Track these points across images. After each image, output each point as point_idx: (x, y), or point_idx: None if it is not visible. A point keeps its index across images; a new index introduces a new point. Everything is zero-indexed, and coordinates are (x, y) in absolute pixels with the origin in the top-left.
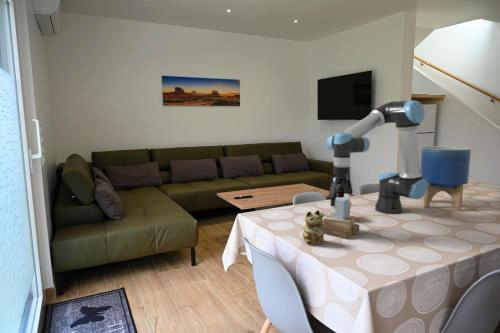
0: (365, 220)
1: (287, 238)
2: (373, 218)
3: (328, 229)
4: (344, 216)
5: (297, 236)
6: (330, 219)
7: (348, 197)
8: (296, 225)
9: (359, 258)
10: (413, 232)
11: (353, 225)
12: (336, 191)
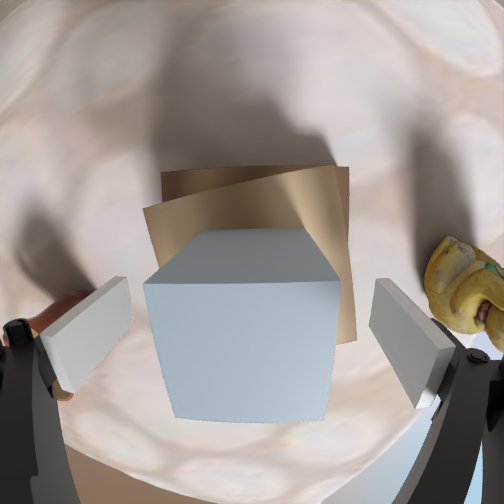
0: (32, 234)
1: None
2: (4, 223)
3: None
4: (280, 232)
5: None
6: (347, 301)
7: (76, 326)
8: None
9: (467, 67)
10: (60, 31)
11: (198, 192)
12: (475, 441)
